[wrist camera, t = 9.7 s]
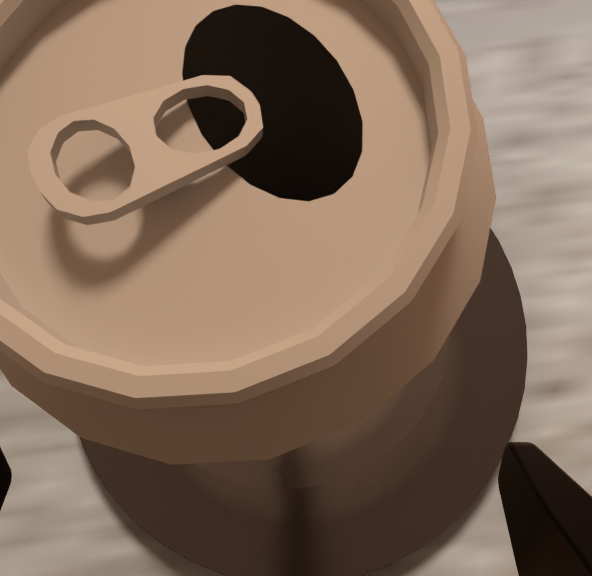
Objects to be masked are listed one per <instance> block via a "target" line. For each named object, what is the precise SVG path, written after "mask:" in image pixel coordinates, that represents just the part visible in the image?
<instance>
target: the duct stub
mask: <svg viewBox="0 0 592 576" xmlns="http://www.w3.org/2000/svg"><path fill="white" fill-rule="evenodd" d="M526 367H527V338H526V324H525V318H524V312H523V307H522V301H521V296H520V293H519V290H518V287H517V284H516V280H515V277H514V274H513V271H512V268H511V266H510V264H509V262H508V259H507V257H506V255H505V253H504V251H503V249H502V247H501V245H500V243H499V241H498V239H497V237H496V236H495V234H494V233H493V231H492V230H491V228H490V231H489V237H488V242H487V247H486V252H485V258H484V263H483V268H482V274H481V279H480V282H479V284H478V286H477V287H476V289H475V291H474V292H473V294H472V296H471V297H470V299H469V301H468V303H467V304H466V306H465V308H464V309H463V311H462V313H461V315H460V316H459V318H458V320H457V321H456V323H455V325H454V327H453V328H452V330H451V332H450V333H449V335H448V337H447V339H446V340H445V342H444V344H443V345H442V347H441V349H440V350H439V352H438V354H437V356H436V357H435V359H434V360H433V361H432V362H431V363H430V364H429V365H427V366H426V367H425V368H424V369H423V370H422V371H420V372H419V373H418V374H417V375H416V376H415V377H413V378H412V379H411V380H410V381H409V382H408V383H406V384H405V385H404V386H403V387H402V388H401V389H399V390H398V391H397V392H396V393H395V394H394V395H392V396H391V397H390V398H389V399H388V400H387V401H385V402H384V403H383V404H382V405H381V406H380V407H378V408H377V409H376V410H375V411H374V412H373V413H371V414H370V415H369V416H368V417H367V418H366V419H364V420H363V421H362V422H361V423H359V424H356V425H354V426H351V427H349V428H346V429H344V430H341V431H339V432H336V433H334V434H331V435H329V436H326V437H324V438H321V439H319V440H316V441H314V442H311V443H309V444H306V445H304V446H301V447H299V448H296V449H294V450H291V451H289V452H286V453H284V454H281V455H279V456H276V457H274V458H271V459H269V460H251V461H231V462H212V463H193V464H174V465H171V464H167V463H164V462H161V461H157V460H154V459H151V458H147V457H144V456H140V455H137V454H134V453H130V452H127V451H124V450H120V449H117V448H113V447H110V446H107V445H103V444H100V443H97V442H93V441H90V440H86V439H83V438H81V437H80V439H81V442H82V445H83V448H84V450H85V452H86V454H87V456H88V457H89V459H90V461H91V463H92V465H93V467H94V469H95V471H96V473H97V475H98V476H99V478H100V479H101V481H102V482H103V484H104V485H105V486H106V488H107V489H108V491H109V492H110V493H111V495H112V496H113V498H114V499H115V500H116V502H117V503H118V504H119V505H120V506H121V507H122V508H123V509H124V510H125V511H126V512H127V513H128V514H129V516H130V517H131V518H132V519H133V520H134V521H135V522H136V523H137V524H138V525H139V526H140V527H142V528H143V529H144V530H145V531H147V532H148V533H149V534H150V535H152V536H153V537H154V538H155V539H157V540H158V541H159V542H160V543H162V544H163V545H164V546H166V547H168V548H170V549H171V550H173V551H175V552H176V553H178V554H180V555H182V556H183V557H185V558H187V559H188V560H190V561H192V562H194V563H197V564H199V565H202V566H204V567H207V568H209V569H211V570H214V571H216V572H219V573H221V574H225V575H229V576H359V575H362V574H365V573H368V572H370V571H373V570H376V569H379V568H382V567H384V566H387V565H389V564H391V563H393V562H395V561H397V560H399V559H401V558H402V557H404V556H406V555H408V554H410V553H412V552H414V551H416V550H418V549H419V548H420V547H422V546H423V545H424V544H426V543H427V542H429V541H430V540H431V539H433V538H434V537H435V536H437V535H438V534H439V533H441V532H442V531H443V530H445V529H446V528H447V527H448V526H449V525H450V524H451V523H452V522H453V521H454V520H455V519H456V518H457V517H458V516H459V515H460V514H461V513H462V512H463V511H464V510H465V509H466V508H467V507H468V506H469V505H470V504H471V503H472V501H473V500H474V499H475V497H476V496H477V495H478V493H479V492H480V491H481V490H482V488H483V487H484V486H485V484H486V483H487V482H488V480H489V479H490V477H491V475H492V474H493V472H494V470H495V468H496V466H497V465H498V463H499V461H500V459H501V457H502V456H503V453H504V449H505V446H506V445H507V444H508V442H509V440H510V437H511V435H512V432H513V430H514V427H515V424H516V422H517V419H518V414H519V410H520V406H521V402H522V397H523V393H524V389H525V378H526Z"/></svg>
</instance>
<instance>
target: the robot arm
mask: <svg viewBox="0 0 592 576" xmlns="http://www.w3.org/2000/svg"><path fill="white" fill-rule="evenodd" d="M11 477H12V474H11V469H10V467H9V465H8V463H7V460H6V458H5V456H4V454H3V452H2V450H1V448H0V510H1V507H2V505H3V502H4V500H5V497H6V494H7V492H8V489H9V486H10V483H11ZM498 484H499V491H500V495H501V499H502V504H503V508H504V513H505V517H506V522H507V526H508V531H509V535H510V539H511V544H512V548H513V553H514V557H515V562H516V566H517V570H518V574H519V576H592V496H591V495H589V494H588V493H587V492H586V491H585V490H584V489H583V488H582V487H581V486H580V485H579V484H577V483H576V482H575V481H574V480H573V479H572V478H571V477H570V476H569V475H568V474H566V473H565V472H564V471H563V470H562V469H561V468H560V467H559V466H558V465H557V464H555V463H554V462H553V461H552V460H551V459H550V458H549V457H548V456H547V455H546V454H544V453H543V452H542V451H541V450H540V449H539V448H538V447H537V446H536V445H534V444H532V443H529V442H510V443H508V444H507V445H506V446H505V449H504V453H503V457H502V462H501V466H500V470H499V475H498Z"/></svg>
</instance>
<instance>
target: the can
mask: <svg viewBox="0 0 592 576" xmlns="http://www.w3.org/2000/svg"><path fill="white" fill-rule="evenodd" d="M495 199H496V194H495V188H494V182H493V176H492V170H491V164H490V158H489V152H488V146H487V140H486V134H485V128H484V122H483V117H482V115H481V114H480V112H479V110H478V108H477V106H476V105H475V103H474V101H473V99H472V94H471V87H470V81H469V75H468V69H467V63H466V56H465V54H464V52H463V51H462V49H461V47H460V45H459V44H458V42H457V40H456V38H455V37H454V35H453V33H452V31H451V29H450V28H449V26H448V24H447V22H446V21H445V19H444V17H443V15H442V14H441V12H440V10H439V8H438V6H437V5H436V3H435V1H434V0H0V368H1V370H2V372H3V373H4V375H5V376H6V378H7V379H8V381H9V383H10V384H11V386H13V387H14V388H15V389H17V390H18V391H19V392H21V393H22V394H23V395H25V396H26V397H27V398H29V399H30V400H31V401H33V402H34V403H35V404H37V405H38V406H39V407H41V408H42V409H43V410H45V411H46V412H47V413H49V414H50V415H52V416H53V417H54V418H56V419H57V420H58V421H60V422H61V423H62V424H64V425H65V426H66V427H68V428H69V429H70V430H72V431H73V432H74V433H76V434H77V435H78V436H80V437H81V438H83V439H86V440H90V441H93V442H97V443H100V444H103V445H107V446H110V447H113V448H117V449H120V450H124V451H127V452H130V453H134V454H137V455H140V456H144V457H147V458H151V459H154V460H157V461H161V462H164V463H167V464H171V465H174V464H193V463H212V462H231V461H251V460H269V459H271V458H274V457H276V456H279V455H281V454H284V453H286V452H289V451H291V450H294V449H296V448H299V447H301V446H304V445H306V444H309V443H311V442H314V441H316V440H319V439H321V438H324V437H326V436H329V435H331V434H334V433H336V432H339V431H341V430H344V429H346V428H349V427H351V426H354V425H356V424H359V423H361V422H362V421H363V420H364V419H366V418H367V417H368V416H369V415H370V414H371V413H373V412H374V411H375V410H376V409H377V408H378V407H380V406H381V405H382V404H383V403H384V402H385V401H387V400H388V399H389V398H390V397H391V396H392V395H394V394H395V393H396V392H397V391H398V390H399V389H401V388H402V387H403V386H404V385H405V384H406V383H408V382H409V381H410V380H411V379H412V378H413V377H415V376H416V375H417V374H418V373H419V372H420V371H422V370H423V369H424V368H425V367H426V366H427V365H429V364H430V363H431V362H432V361H433V360H434V359H435V357H436V356H437V354H438V352H439V350H440V349H441V347H442V345H443V344H444V342H445V340H446V339H447V337H448V335H449V333H450V332H451V330H452V328H453V327H454V325H455V323H456V321H457V320H458V318H459V316H460V315H461V313H462V311H463V309H464V308H465V306H466V304H467V303H468V301H469V299H470V297H471V296H472V294H473V292H474V291H475V289H476V287H477V286H478V284H479V282H480V279H481V274H482V268H483V263H484V258H485V252H486V247H487V242H488V237H489V231H490V226H491V221H492V215H493V210H494V205H495Z"/></svg>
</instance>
